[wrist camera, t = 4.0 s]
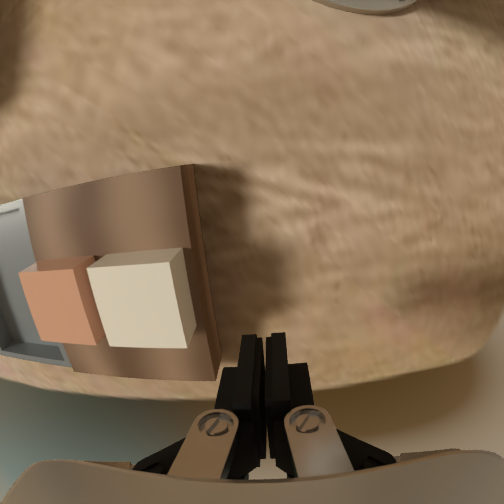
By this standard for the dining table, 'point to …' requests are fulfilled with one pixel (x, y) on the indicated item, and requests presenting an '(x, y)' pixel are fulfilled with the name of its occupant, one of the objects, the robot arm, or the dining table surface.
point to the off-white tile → (144, 298)
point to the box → (20, 293)
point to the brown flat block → (131, 240)
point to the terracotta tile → (63, 300)
